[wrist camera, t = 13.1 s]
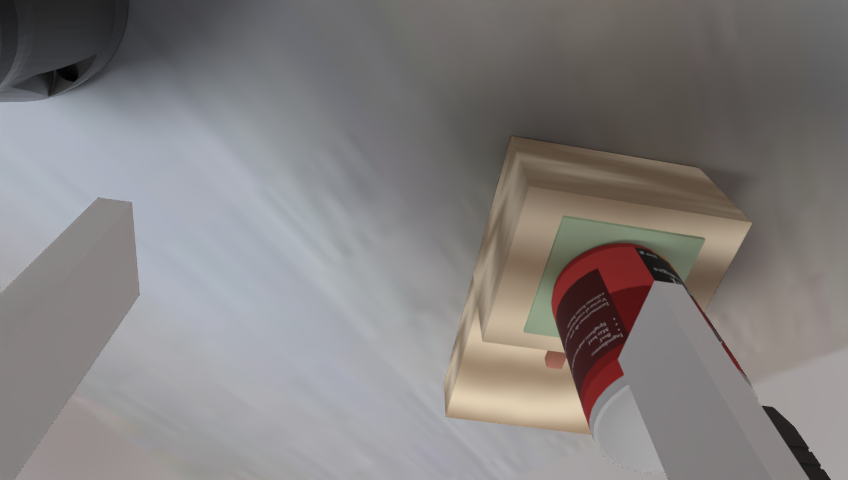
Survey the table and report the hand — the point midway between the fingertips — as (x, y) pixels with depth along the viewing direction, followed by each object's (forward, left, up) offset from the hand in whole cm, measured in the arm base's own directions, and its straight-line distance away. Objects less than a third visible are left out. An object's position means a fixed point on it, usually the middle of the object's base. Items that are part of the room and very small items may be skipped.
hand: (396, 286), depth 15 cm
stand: (+15, -17, -27) cm, 35 cm away
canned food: (+15, -11, -19) cm, 26 cm away
